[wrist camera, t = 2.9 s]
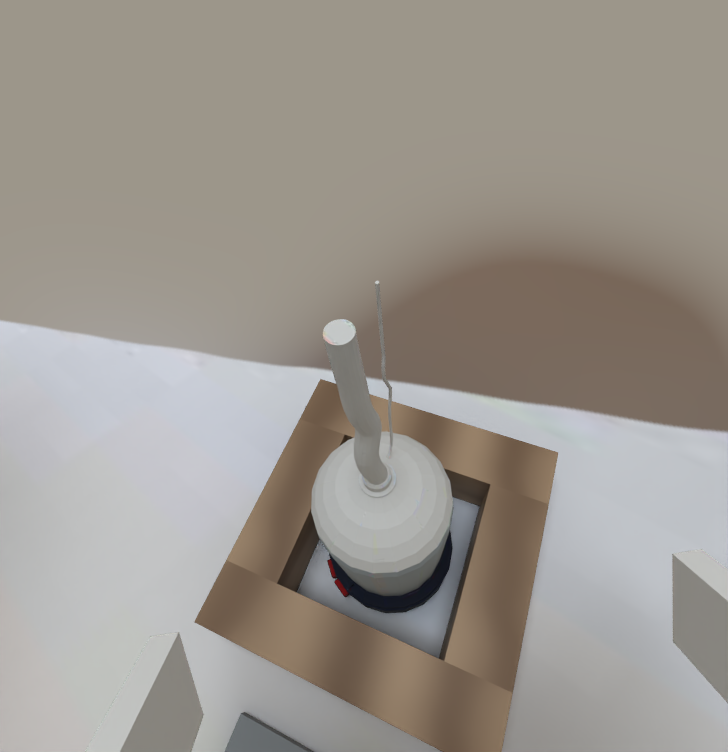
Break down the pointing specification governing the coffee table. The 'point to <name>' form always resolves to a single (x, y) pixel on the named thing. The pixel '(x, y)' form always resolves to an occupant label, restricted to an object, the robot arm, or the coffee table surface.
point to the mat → (260, 738)
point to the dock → (365, 644)
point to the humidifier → (380, 496)
